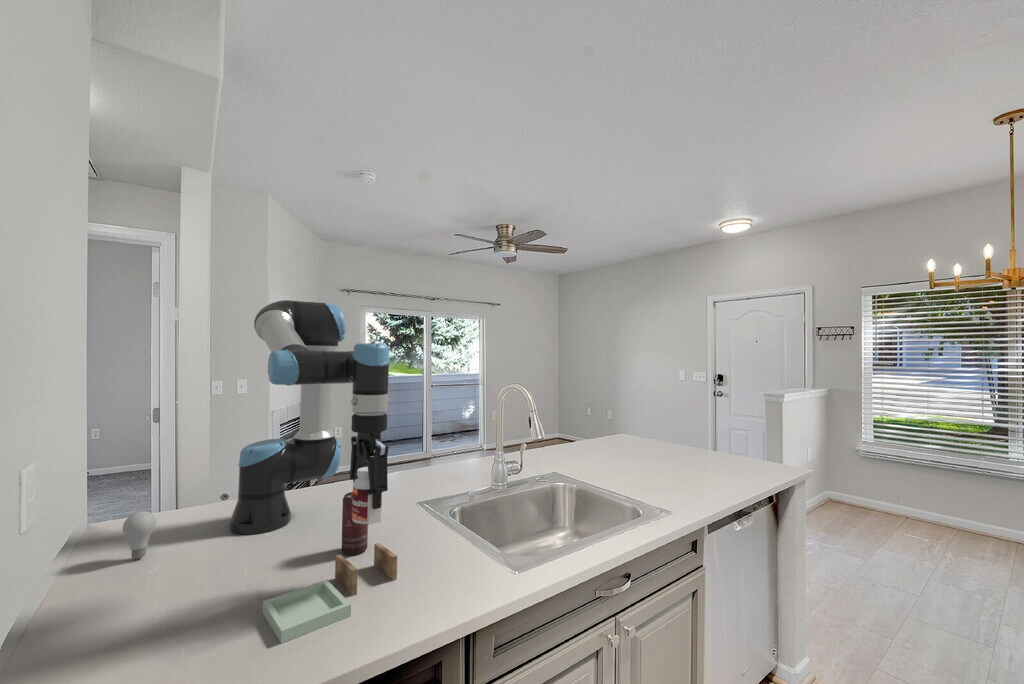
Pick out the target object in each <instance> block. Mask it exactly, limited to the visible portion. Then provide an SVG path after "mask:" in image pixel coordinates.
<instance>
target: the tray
mask: <svg viewBox="0 0 1024 684" xmlns="http://www.w3.org/2000/svg"><path fill="white" fill-rule="evenodd" d="M262 614H263V615H264V617H265V619H266V622H267V623H268V624H269V626H270V627H271V629H272V631H273V633H274V634H275V636H276V637H277V639H278V641H279V642H280V644H284V643H286V642H289V641H291V640H294V639H296V638H298V637H302V636H304V635H306V634H309V633H311V632H314V631H316V630H319V629H321V628H323V627H326V626H328V625H331V624H334V623H336V622H340V621H341V620H344V619H346V618H349V617H351V615H352V604H351V602H349V601H348V600H347V599H346V598H345V596H344V595H342V593H341V592H340V591H339V590H338V589H337V588H336V587H334V585H333V584H332V583H331V582H330V581H329V580H328V579H326V580H323V581H320V582H319V581H318V582H317V583H314V584H310V585H308V586H303V587H301V588H298V589H296V590H292V591H289V592H286V593H284V594H281V595H278V596H275V597H272V598H269V599H266V600H263V601H262Z"/></svg>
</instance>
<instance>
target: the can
mask: <svg viewBox="0 0 1024 684" xmlns="http://www.w3.org/2000/svg"><path fill="white" fill-rule="evenodd" d="M352 502H353V491H350V492H348V493H345V494H344V496H343V498H342V512H341V513H342V514H341V515H342V517H341V520H342V521H341V546H340V547H341V553H342V554H343V555H346V556H350V557H351V556H358V555H362V554H363V553H365V552H366V550H367V549H368V542H369V541H368V539H369V538H368V537H369V534H368V533H369V525H368V524H359V523H355V522H354V521H353V520H352Z"/></svg>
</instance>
